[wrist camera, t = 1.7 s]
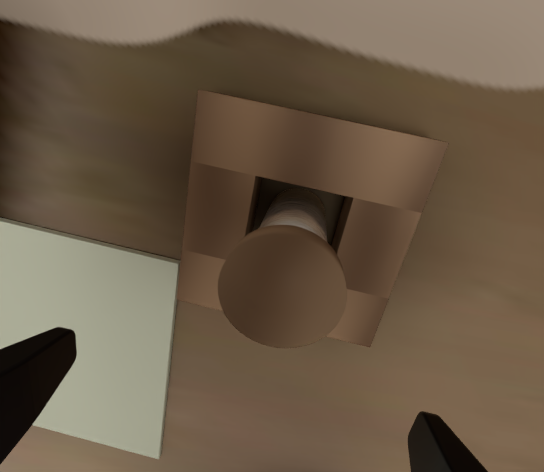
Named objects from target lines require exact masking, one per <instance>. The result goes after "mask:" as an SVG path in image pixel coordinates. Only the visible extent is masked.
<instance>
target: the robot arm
mask: <svg viewBox="0 0 544 472" xmlns="http://www.w3.org/2000/svg"><path fill="white" fill-rule="evenodd" d="M76 356H77V349H76V335H75V332H74V331H73V330H72V329H67V328H63V327H56V328H53V329H50V330H48V331H45V332H43V333H40V334H38V335H35V336H32V337H30V338H27V339H25V340H22V341H20V342H17V343H15V344H12V345H9V346H7V347H4V348H2V349H0V464H1V463H2V462H3V461H4V459H5V458H6V457H7V456H8V454H9V453H10V452H11V451H12V449H13V448H14V447H15V446H16V444H17V443H18V442H19V441H20V439H21V438H22V437H23V436H24V434H25V433H26V432H27V431H28V429H29V428H30V427H31V425H32V424H33V423H34V422H35V420H36V419H37V418H38V416H39V415H40V413H41V412H42V410H43V409H44V407H45V406H46V404H47V403H48V401H49V400H50V398H51V397H52V395H53V394H54V392H55V391H56V389H57V388H58V386H59V385H60V383H61V382H62V380H63V379H64V377H65V376H66V374H67V373H68V371H69V370H70V368H71V367H72V365H73V364H74V362H75V360H76ZM408 449H409V458H410V467H411V472H488V471H487V470H486V469H485V468H484V467H483V466H482V464H481V463H480V462H479V461H478V460H477V459H476V458H475V456H474V455H473V454H472V453H471V452H470V451H469V450H468V448H467V447H466V446H465V445H464V444H463V443H462V442H461V440H460V439H459V438H458V437H457V436H456V435H455V434H454V432H453V431H452V430H451V429H450V428H449V427H448V426H447V424H446V423H445V422H444V421H443V420H442V419H441V418H440V417H439V416H438V415H436V414H432V413H428V412H423V411H422V412H420V413H419V414H418V415H417V417H416V419H415V421H414V424H413V426H412V428H411V430H410V432H409V435H408Z"/></svg>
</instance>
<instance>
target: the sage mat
mask: <svg viewBox="0 0 544 472" xmlns="http://www.w3.org/2000/svg"><path fill="white" fill-rule="evenodd" d="M179 270H180V260H175V259H171V258H167V257H163V256H159V255H155V254H150V253H146V252H142V251H138V250H134V249H130V248H125V247H121V246H117V245H113V244H109V243H105V242H100V241H96V240H92V239H88V238H84V237H80V236H76V235H71V234H67V233H63V232H59V231H55V230H51V229H46V228H42V227H38V226H34V225H30V224H26V223H21V222H17V221H13V220H9V219H5V218H1V217H0V349H2V348H4V347H7V346H9V345H12V344H15V343H17V342H20V341H22V340H25V339H27V338H30V337H32V336H35V335H38V334H40V333H43V332H45V331H48V330H50V329H53V328H56V327H63V328H67V329H72V330H73V331H74V332H75V335H76V349H77V356H76V360H75V362H74V364H73V365H72V367H71V368H70V370H69V371H68V373H67V374H66V376H65V377H64V379H63V380H62V382H61V383H60V385H59V386H58V388H57V389H56V391H55V392H54V394H53V395H52V397H51V398H50V400H49V401H48V403H47V404H46V406H45V407H44V409H43V410H42V412H41V413H40V415H39V416H38V418H37V419H36V420H35V422H34V423H33V424H32V425H34V426H38V427H42V428H45V429H49V430H53V431H56V432H60V433H64V434H67V435H71V436H75V437H78V438H82V439H86V440H89V441H93V442H97V443H100V444H104V445H108V446H111V447H115V448H119V449H122V450H126V451H130V452H133V453H137V454H141V455H145V456H148V457H152V458H156V459H159V458H160V456H161V451H162V442H163V432H164V422H165V413H166V403H167V393H168V383H169V374H170V364H171V354H172V345H173V335H174V325H175V315H176V306H177V290H178V280H179Z"/></svg>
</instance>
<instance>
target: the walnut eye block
mask: <svg viewBox="0 0 544 472" xmlns="http://www.w3.org/2000/svg"><path fill="white" fill-rule="evenodd" d="M448 145H449V143H447V142H443V141H439V140H435V139H431V138H427V137H422V136H418V135H413V134H408V133H404V132H399V131H394V130H390V129H385V128H380V127H375V126H371V125H366V124H361V123H357V122H352V121H347V120H343V119H338V118H333V117H328V116H324V115H319V114H314V113H310V112H305V111H300V110H296V109H291V108H286V107H281V106H277V105H272V104H267V103H263V102H258V101H253V100H249V99H244V98H239V97H235V96H230V95H225V94H220V93H216V92H210V91H204V90H198V94H197V104H196V114H195V123H194V133H193V143H192V153H191V162H190V172H189V182H188V192H187V202H186V211H185V221H184V231H183V241H182V251H181V260H180V270H179V280H178V290H177V300H180V301H184V302H188V303H192V304H196V305H200V306H204V307H208V308H212V309H216V310H220V311H223V310H222V307H221V304H220V301H219V297H218V278H219V274H220V271H221V269H222V266H223V264H224V263H225V261H226V259H227V258H228V256H229V254H230V253H231V251H232V249H233V248H234V247H235V245H236V244H237V243H238V242H239V241H240V240H241V239H242V238H243V237H245V236H246V235H248V234H249V233H251V232H252V230H253V225H254V219H255V214H256V209H257V203H258V198H259V192H260V187H261V182H262V177H263V178H268V179H272V180H277V181H281V182H286V183H290V184H295V185H299V186H304V187H308V188H312V189H317V190H321V191H326V192H330V193H335V194H339V195H344V196H345V200H344V203H343V207H342V210H341V214H340V217H339V221H338V224H337V228H336V231H335V234H334V238H333V241H332V245H331V247H332V248H333V249H334V251H335V252H336V254H337V255H338V257H339V259H340V261H341V264H342V266H343V270H344V275H345V281H346V287H347V302H346V307H345V311H344V313H343V316H342V318H341V319H340V321H339V323H338V324H337V325H336V327H335V328H334V329H333V330H332V331H331V332H330V333H329V334H328V335H326V337H330V338H334V339H338V340H342V341H346V342H350V343H354V344H358V345H362V346H366V347H370V346H371V344H372V341H373V338H374V336H375V333H376V331H377V328H378V326H379V323H380V320H381V318H382V315H383V313H384V310H385V307H386V305H387V302H388V300H389V297H390V295H391V292H392V289H393V287H394V284H395V282H396V279H397V276H398V274H399V271H400V269H401V266H402V264H403V261H404V258H405V256H406V253H407V251H408V248H409V245H410V243H411V240H412V238H413V235H414V233H415V230H416V227H417V225H418V222H419V220H420V217H421V214H422V212H423V209H424V207H425V204H426V202H427V199H428V196H429V194H430V191H431V189H432V186H433V183H434V181H435V178H436V176H437V173H438V171H439V168H440V165H441V163H442V160H443V158H444V155H445V152H446V150H447V147H448Z"/></svg>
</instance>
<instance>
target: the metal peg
mask: <svg viewBox="0 0 544 472" xmlns="http://www.w3.org/2000/svg"><path fill="white" fill-rule="evenodd" d="M218 297H219V301H220V304H221V307H222V310H223V311H224V313H225V315H226V317H227V318H228V320H229V321H230V322H231V323H232V325H233V326H234V327H235V328H236V329H237V330H238V331H240V332H241V333H242V334H244V335H245V336H246V337H248V338H250V339H252V340H253V341H256V342H258V343H260V344H263V345H267V346H271V347H276V348H297V347H302V346H306V345H309V344H312V343H315V342H316V341H318V340H320V339H322V338H323V337H325V336H326V335H328V334H329V333H330V332H331V331H332V330H333V329H334V328H335V327H336V325H337V324H338V323H339V321H340V319H341V318H342V316H343V313H344V311H345V307H346V302H347V287H346V281H345V275H344V270H343V266H342V264H341V261H340V259H339V257H338V255H337V254H336V252H335V251H334V249H333V248H332V247H331V246H330V245H329V244H328V243H327V232H326V218H325V209H324V206H323V204H322V202H321V200H320V199H319V198H318V197H317V196H316V195H315V194H314V193H312V192H311V191H308V190H306V189H302V188H291V189H288V190H285V191H283V192H281V193H280V194H278V195H277V196H276V197H275V199H274V200H273V202H272V203H271V205H270V207H269V209H268V211H267V213H266V215H265V217H264V219H263V221H262V223H261V225H260V227H259V229H257V230H255V231H253V232H251V233H249V234H248V235H246V236H245V237H243V238H242V239H241V240H240V241H239V242H238V243H237V244H236V245H235V247H234V248H233V249H232V251H231V253H230V254H229V256H228V258H227V259H226V261H225V263H224V264H223V266H222V269H221V271H220V274H219V278H218Z"/></svg>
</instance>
